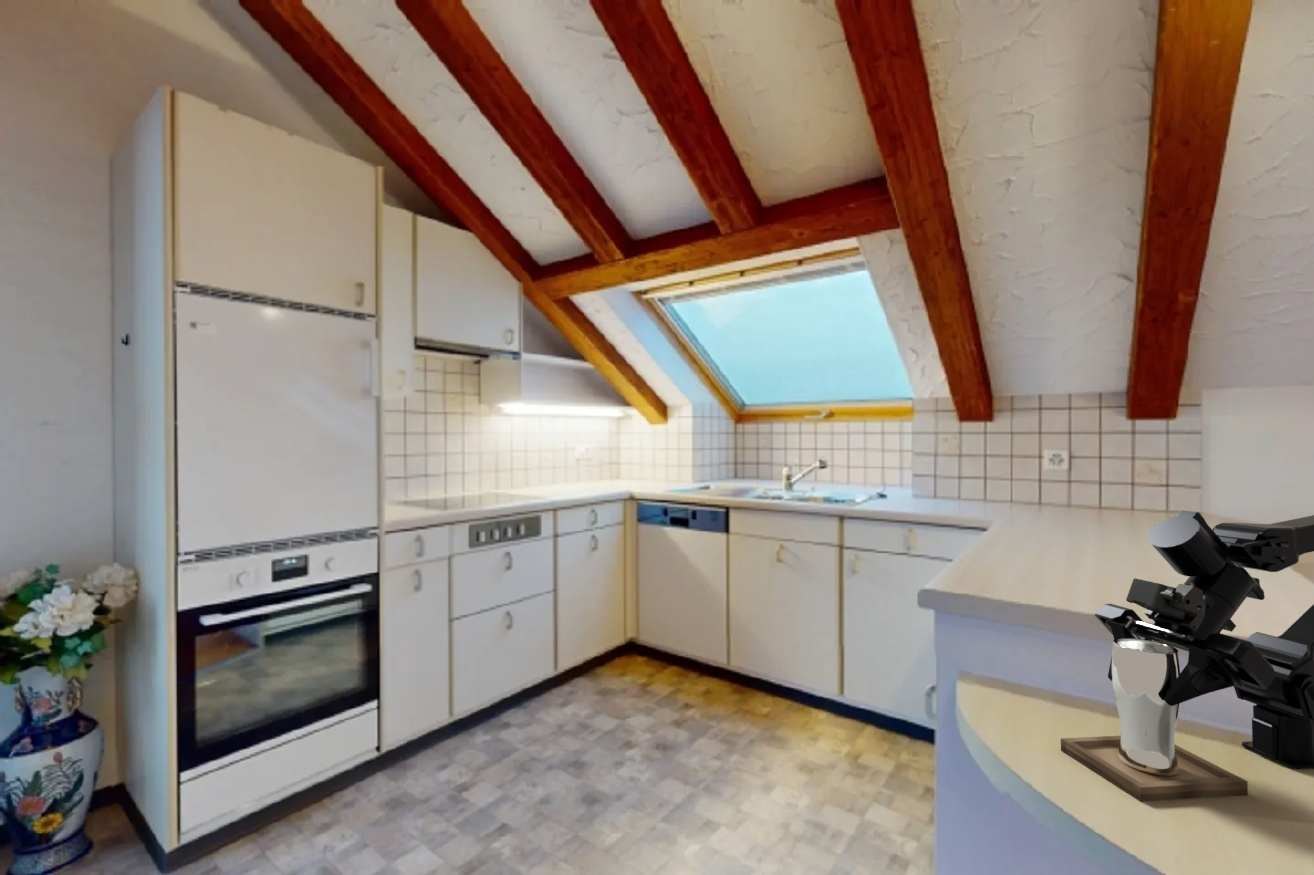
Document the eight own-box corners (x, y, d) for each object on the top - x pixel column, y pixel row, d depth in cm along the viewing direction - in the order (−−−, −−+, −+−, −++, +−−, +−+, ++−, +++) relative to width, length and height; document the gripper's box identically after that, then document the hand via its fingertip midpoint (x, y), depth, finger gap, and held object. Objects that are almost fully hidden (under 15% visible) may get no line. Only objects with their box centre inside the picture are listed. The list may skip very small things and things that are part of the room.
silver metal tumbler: (1198, 774, 74) (1195, 652, 74) (1154, 781, 72) (1151, 655, 73) (1141, 748, 81) (1139, 636, 81) (1100, 753, 79) (1097, 639, 80)
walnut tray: (1154, 745, 83) (1154, 733, 83) (1247, 794, 71) (1247, 781, 71) (1060, 750, 82) (1060, 738, 82) (1140, 801, 70) (1140, 787, 70)
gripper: (1104, 547, 87) (1039, 627, 85) (1252, 572, 68) (1174, 676, 66) (1151, 599, 88) (1088, 679, 86) (1309, 637, 70) (1234, 741, 67)
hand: (1137, 690), depth 76 cm, fingers open, 7 cm apart
